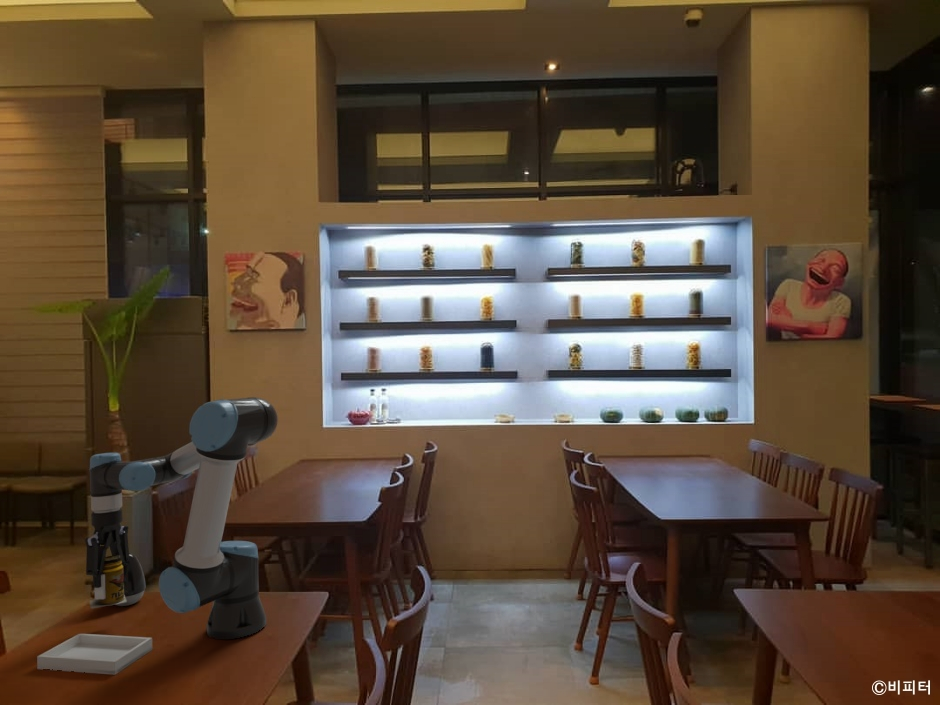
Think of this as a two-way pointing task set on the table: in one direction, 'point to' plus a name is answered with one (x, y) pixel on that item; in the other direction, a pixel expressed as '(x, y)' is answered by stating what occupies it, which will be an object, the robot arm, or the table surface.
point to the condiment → (112, 583)
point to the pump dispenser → (133, 581)
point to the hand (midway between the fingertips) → (109, 594)
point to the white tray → (95, 653)
